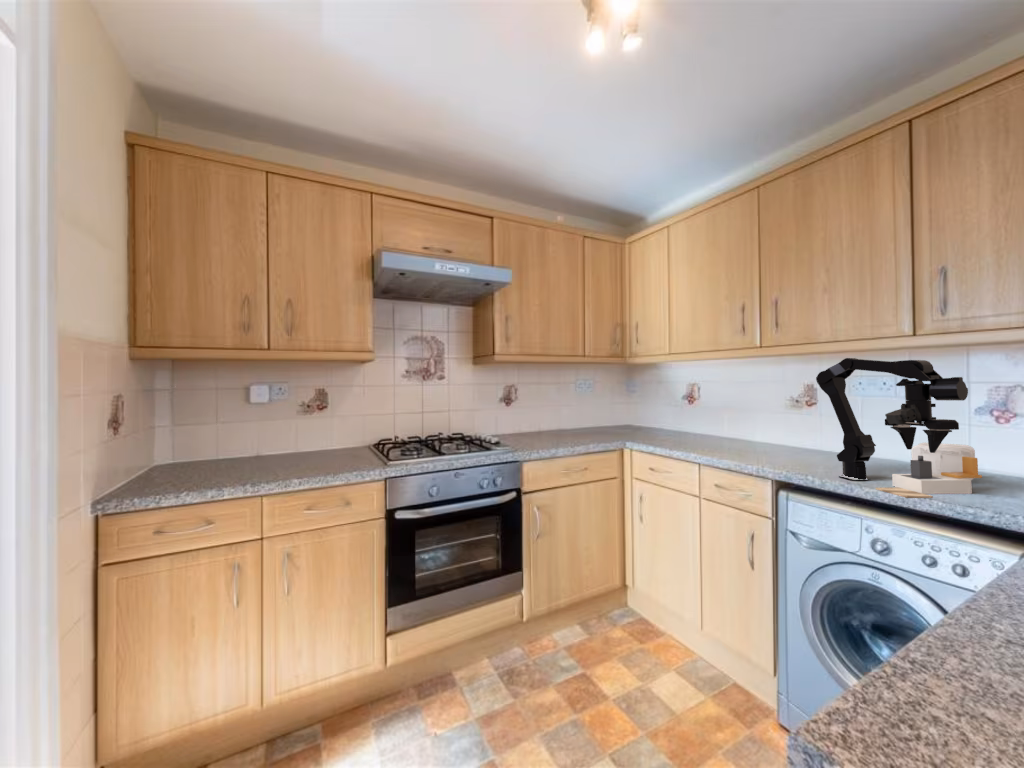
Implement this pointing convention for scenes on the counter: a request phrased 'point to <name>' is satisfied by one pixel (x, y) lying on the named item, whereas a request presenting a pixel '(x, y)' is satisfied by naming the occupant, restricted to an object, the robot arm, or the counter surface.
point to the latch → (966, 469)
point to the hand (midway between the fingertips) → (920, 450)
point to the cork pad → (904, 492)
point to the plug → (921, 469)
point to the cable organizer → (944, 456)
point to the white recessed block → (933, 484)
